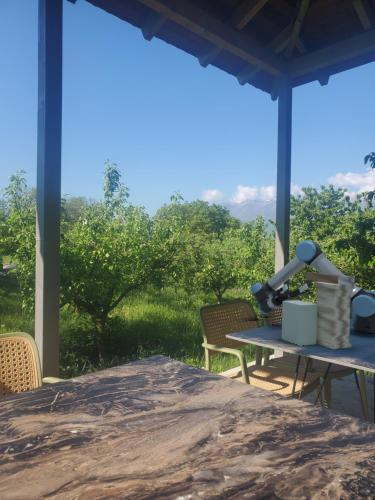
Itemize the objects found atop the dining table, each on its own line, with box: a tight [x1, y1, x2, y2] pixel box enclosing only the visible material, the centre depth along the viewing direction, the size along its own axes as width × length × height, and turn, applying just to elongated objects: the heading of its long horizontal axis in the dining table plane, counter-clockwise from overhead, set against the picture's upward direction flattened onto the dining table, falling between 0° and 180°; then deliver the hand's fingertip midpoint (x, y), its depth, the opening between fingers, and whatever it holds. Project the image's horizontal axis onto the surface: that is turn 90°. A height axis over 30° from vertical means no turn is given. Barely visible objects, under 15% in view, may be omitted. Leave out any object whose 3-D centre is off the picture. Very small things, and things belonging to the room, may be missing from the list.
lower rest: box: [281, 299, 317, 347], centre depth 197 cm, size 10×14×20 cm
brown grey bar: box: [306, 271, 356, 286], centre depth 195 cm, size 4×28×4 cm, turn 24°
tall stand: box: [313, 281, 354, 350], centre depth 192 cm, size 12×14×30 cm
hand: (296, 286), depth 217 cm, fingers open, 13 cm apart
